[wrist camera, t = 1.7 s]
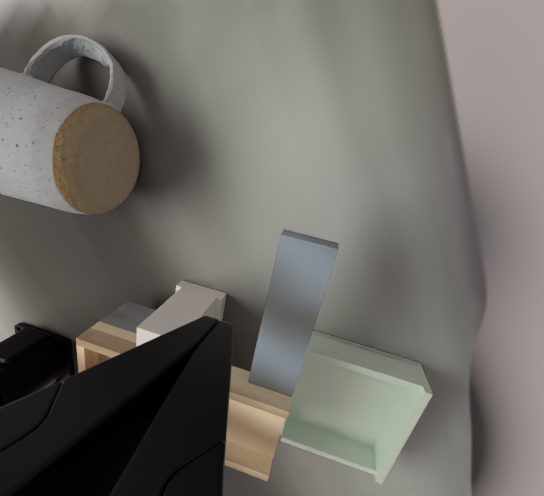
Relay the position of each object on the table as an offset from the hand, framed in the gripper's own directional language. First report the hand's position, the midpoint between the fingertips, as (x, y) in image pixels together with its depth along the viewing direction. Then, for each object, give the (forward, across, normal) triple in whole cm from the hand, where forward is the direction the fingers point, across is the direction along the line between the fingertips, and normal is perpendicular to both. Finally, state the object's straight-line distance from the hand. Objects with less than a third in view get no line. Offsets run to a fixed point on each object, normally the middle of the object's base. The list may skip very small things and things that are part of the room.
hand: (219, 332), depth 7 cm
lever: (+12, +4, +8) cm, 15 cm away
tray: (+13, -8, +14) cm, 20 cm away
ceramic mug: (+13, +16, -3) cm, 21 cm away
